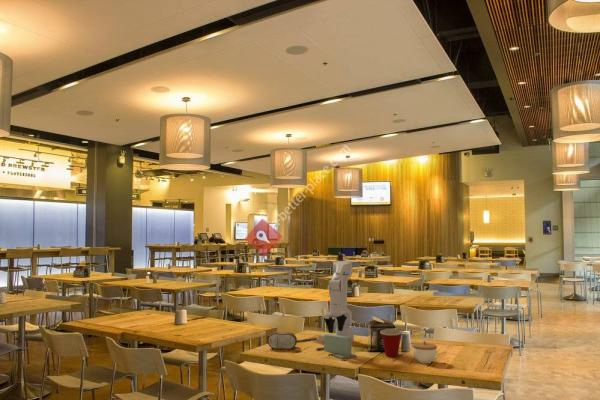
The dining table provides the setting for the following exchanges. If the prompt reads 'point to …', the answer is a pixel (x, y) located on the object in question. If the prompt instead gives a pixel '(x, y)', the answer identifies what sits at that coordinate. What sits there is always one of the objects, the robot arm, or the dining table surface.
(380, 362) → the dining table surface
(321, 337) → the offcut top
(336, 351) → the pale green block
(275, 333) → the tin
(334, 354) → the mat
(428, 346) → the lidded jar
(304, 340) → the rack
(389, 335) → the plastic cup
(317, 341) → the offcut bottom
